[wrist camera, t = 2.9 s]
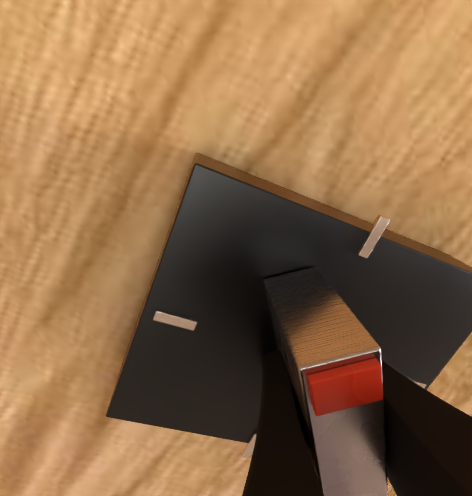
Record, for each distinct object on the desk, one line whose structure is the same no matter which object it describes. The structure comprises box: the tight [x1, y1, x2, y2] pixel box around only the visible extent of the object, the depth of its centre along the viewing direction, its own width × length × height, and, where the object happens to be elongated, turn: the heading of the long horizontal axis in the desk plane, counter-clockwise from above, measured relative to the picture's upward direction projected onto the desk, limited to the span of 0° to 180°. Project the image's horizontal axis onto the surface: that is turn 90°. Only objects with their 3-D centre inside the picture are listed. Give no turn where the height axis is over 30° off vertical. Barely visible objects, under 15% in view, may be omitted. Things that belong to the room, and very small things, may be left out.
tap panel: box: [106, 153, 472, 458], centre depth 13 cm, size 12×11×3 cm
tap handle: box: [264, 267, 388, 496], centre depth 10 cm, size 7×2×4 cm, turn 13°
